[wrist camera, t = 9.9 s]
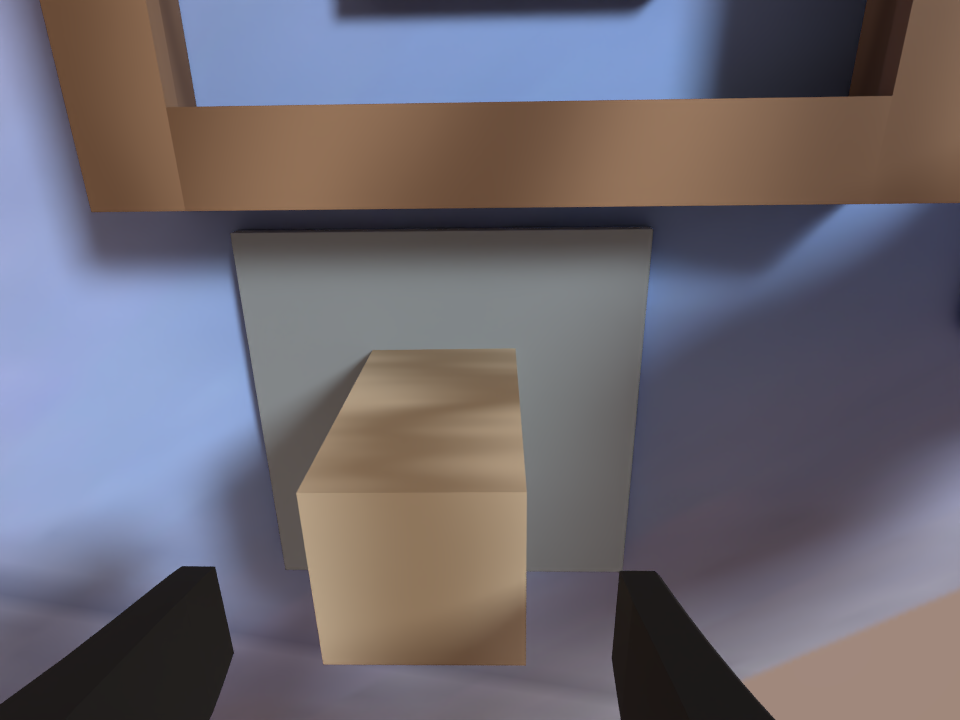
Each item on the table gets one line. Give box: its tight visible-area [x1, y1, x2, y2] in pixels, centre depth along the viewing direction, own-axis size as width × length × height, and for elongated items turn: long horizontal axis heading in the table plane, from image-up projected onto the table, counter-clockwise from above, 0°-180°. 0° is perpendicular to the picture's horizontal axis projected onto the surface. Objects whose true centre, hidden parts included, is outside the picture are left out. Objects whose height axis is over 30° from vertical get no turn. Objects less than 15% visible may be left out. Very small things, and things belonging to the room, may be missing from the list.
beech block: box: [296, 348, 527, 665], centre depth 15 cm, size 4×4×7 cm
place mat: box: [230, 227, 653, 572], centre depth 18 cm, size 11×11×1 cm
